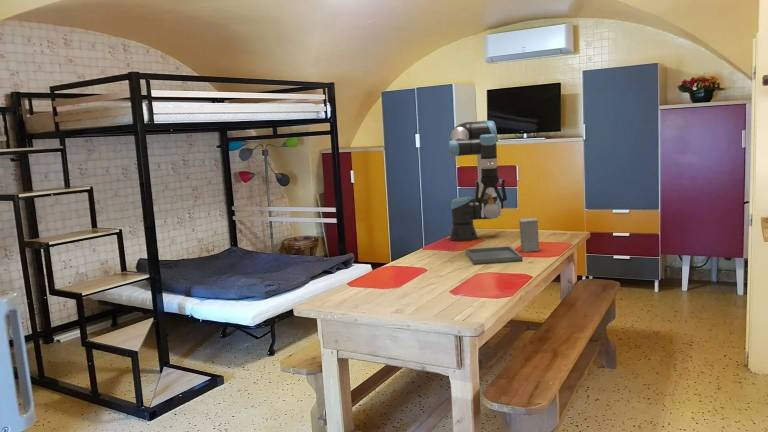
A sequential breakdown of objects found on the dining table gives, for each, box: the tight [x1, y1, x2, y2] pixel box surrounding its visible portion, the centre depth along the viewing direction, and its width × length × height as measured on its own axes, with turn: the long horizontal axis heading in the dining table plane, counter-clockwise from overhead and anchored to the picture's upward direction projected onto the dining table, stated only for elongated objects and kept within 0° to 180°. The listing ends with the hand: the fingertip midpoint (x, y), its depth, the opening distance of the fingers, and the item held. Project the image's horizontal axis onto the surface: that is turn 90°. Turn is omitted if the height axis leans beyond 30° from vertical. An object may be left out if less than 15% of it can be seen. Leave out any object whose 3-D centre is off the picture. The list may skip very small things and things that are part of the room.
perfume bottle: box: [483, 192, 500, 219], centre depth 287 cm, size 8×10×12 cm
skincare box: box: [518, 217, 540, 253], centre depth 300 cm, size 8×7×16 cm
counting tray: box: [465, 245, 523, 266], centre depth 291 cm, size 24×22×2 cm
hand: (491, 216), depth 288 cm, fingers closed on perfume bottle, 7 cm apart
